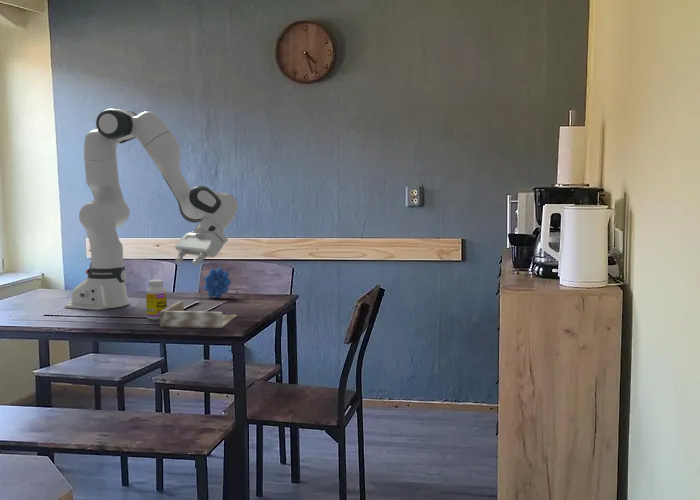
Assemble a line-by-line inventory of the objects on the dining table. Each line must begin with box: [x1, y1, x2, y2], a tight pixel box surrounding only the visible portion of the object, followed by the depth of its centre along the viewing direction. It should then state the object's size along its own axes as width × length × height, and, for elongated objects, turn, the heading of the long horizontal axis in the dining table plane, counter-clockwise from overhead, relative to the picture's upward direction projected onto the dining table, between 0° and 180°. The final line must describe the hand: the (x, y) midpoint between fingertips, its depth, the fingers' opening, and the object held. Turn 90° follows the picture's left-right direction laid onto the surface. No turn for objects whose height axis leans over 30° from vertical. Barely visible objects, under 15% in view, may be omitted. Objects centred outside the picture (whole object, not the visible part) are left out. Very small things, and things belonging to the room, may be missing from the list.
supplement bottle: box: [145, 278, 168, 321], centre depth 243 cm, size 7×7×13 cm
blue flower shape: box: [203, 267, 232, 299], centre depth 280 cm, size 12×7×12 cm, turn 73°
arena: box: [159, 300, 237, 329], centre depth 238 cm, size 20×18×5 cm
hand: (185, 263), depth 251 cm, fingers open, 8 cm apart
